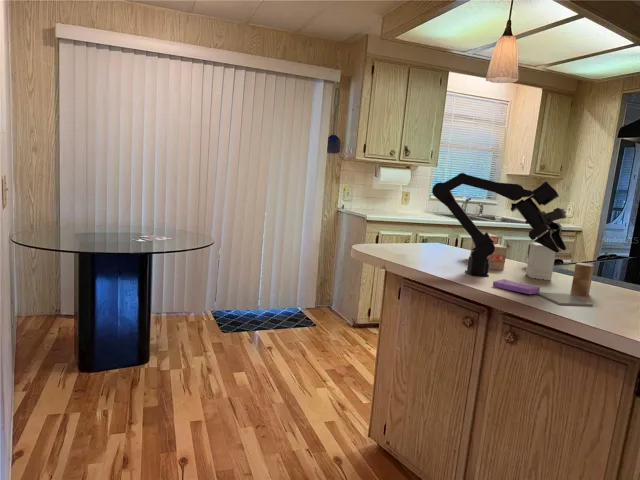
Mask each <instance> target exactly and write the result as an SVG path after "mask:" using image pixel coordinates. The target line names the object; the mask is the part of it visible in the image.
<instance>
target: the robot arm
mask: <svg viewBox="0 0 640 480" xmlns="http://www.w3.org/2000/svg"><path fill="white" fill-rule="evenodd" d="M461 185H465V186H469V187H473V188H478V189H481V190H484V191H489V192H492V193H495V194H497V195H499V196H502V197H504V198H506V199H509V200H511V201H515V202H516V201H517V202H516V203H511V207H510V211H511V213H514V212H516V210H517V211H518V212H519V215H521V216H522V218H523V219H524V220H525V221H524V223H525V224H526V225H529V226H530V228H531V230H530V231H528V237H529V238H530V240H531V241H534V243H539V244H541V245H543V246H545V247H547V248H549V249H550V250H552V251H554V252H556V253H559V252H560V250H562V251H565V250H567V246H566V244H565V242H564V240H563V237H562V236H561V233H562V230H563V226H562V225H561V223H560V222H558V220H564V219H566V218H567V215H566V213H567V211H565V209H564V208H560V207H557V208H554V209H553V211H550V212H546V211H542V210H541V209H540V208H539V207H538V206H543V207H545V206H547V205H548V204H550V203H551V202H552V201H554V200H556V199H557V198H559V197H560V194H559V193H558V192H557V191H556V189H555V188H554V187H552V186H551V185H550V183H548V181H546V180H545V181H544V182H542V183H541V184H540V185H538V186H537V187H536V188H534V189H533V190H531V189H526V188H524V187H523V186H522V185H520V184H519V183H510V182H509V183H508V182H496V181H492V180H489V179H486V178H481V177H478V176H473V175H469V174H466V173H464V172H461V173H458V174H457V175H455V176H454V177H451V178H450V179H448V180H447V181H444V182H437V183H436V184H434V185H433V186H432V189H431V193H432V195H433V197H434V198H436V199H437V200H438V201H439V202H441V203H442V204H443V205H444V206H446V207H447V208H448V209H449V211H450V212H451V213H452V215H453V216H454V217H455V219H456V220H457V221H458V222H459V223H460V224H461V225H460V226H462V227H463V228H464V230H465V231H466V232H467V234H468V235H469V236H470V238H471V241H472V240H473V242H474V244H475V246H476V247H475V248H473V249H472V250H471V249H470V253H471V257H470V256H468V260H467V261H468V263H467V267H466V270H464V273H467V274H469V275H471V276H476V277H489V270H490V269H489V263H488V261H489V259H487V257H488V256H489V255H491V254H493V252H494V251H495V246H494V243H493V242H494V239H492V238H491V237H490V236H489V234H490V233H489V234H488V231H484V233H483V231H482V230H480V229H479V228H478V227H477V225H476V224H475V223H474V221H473V220H472V219H471V217H470V216H469V215H468V214H467V213H466V211H464V208H462V206H461V205H460V204H459V203H458V201H457V200H456V198H455V196H454V195H453V192H452V191H453V190H454V189H456V188H458V187H459V186H461ZM522 198H526V199H522ZM533 200H534V201H535V202H534V201H533ZM536 203H537V204H536ZM556 221H557V222H556Z"/></svg>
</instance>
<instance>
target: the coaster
mask: <svg viewBox="0 0 640 480" xmlns="http://www.w3.org/2000/svg"><path fill="white" fill-rule="evenodd" d="M535 295H537V296H540V297H541V298H543V299H545V300H548V301H550V302H552V303H554V304H557V305H558V306H576V307H577V306H579V307H585V306H586V307H593V306H594V305H593V303H592V302H589V301H586V300H584V299H581V298H579V297H577V296H574V295H572V294H571V293H564V292H559V293H558V292H541V291H540V292H538V293H535Z"/></svg>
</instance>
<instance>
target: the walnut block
mask: <svg viewBox="0 0 640 480" xmlns="http://www.w3.org/2000/svg"><path fill="white" fill-rule="evenodd" d="M594 269H595V264H590V263H585V262H576V263H575V265H574V272H573V278H572V283H571V289H570V295H572V294H573V295H577V296H581V297H584V298H586V297H588V296H589V295H590V289H591V285H592V280H593V274H594Z"/></svg>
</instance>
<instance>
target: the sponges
mask: <svg viewBox="0 0 640 480" xmlns="http://www.w3.org/2000/svg"><path fill="white" fill-rule="evenodd" d="M492 287H495V288H498V289H504V290H508V291H513V292H517V293H522V294H528V295H533V294H536V293H538V292H540V293H541V290H540V289H541V287H540V286H536V285H531V284H527V283H522V282H518V281H515V280H514V281H513V280H511V279H510V280H508V279H505V278H501V279H498V280H494V281H493V282H492Z"/></svg>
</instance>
